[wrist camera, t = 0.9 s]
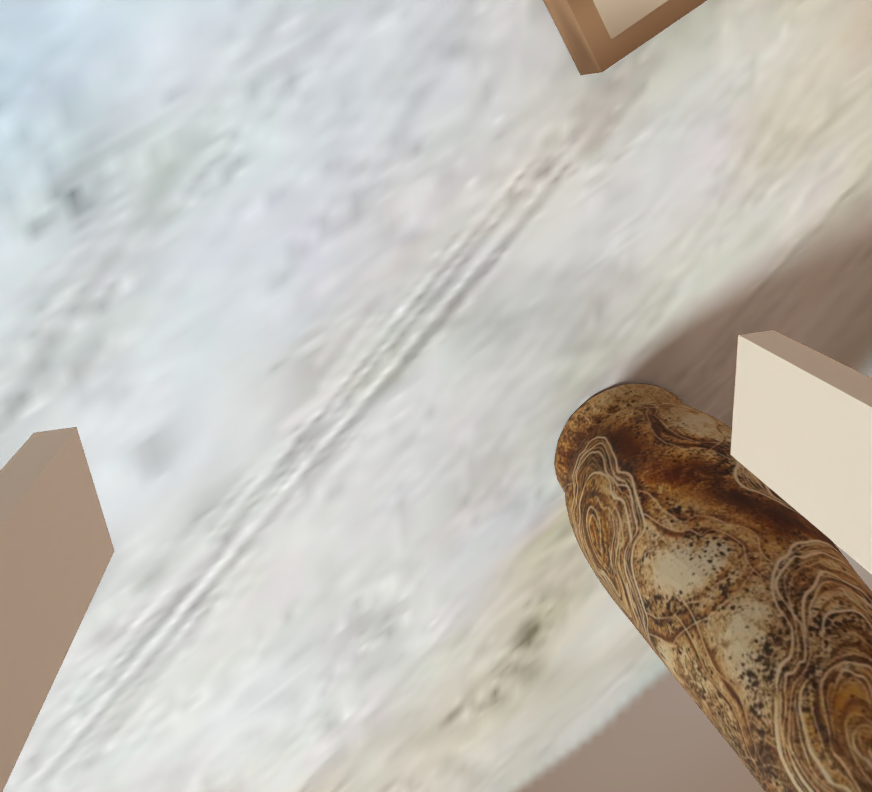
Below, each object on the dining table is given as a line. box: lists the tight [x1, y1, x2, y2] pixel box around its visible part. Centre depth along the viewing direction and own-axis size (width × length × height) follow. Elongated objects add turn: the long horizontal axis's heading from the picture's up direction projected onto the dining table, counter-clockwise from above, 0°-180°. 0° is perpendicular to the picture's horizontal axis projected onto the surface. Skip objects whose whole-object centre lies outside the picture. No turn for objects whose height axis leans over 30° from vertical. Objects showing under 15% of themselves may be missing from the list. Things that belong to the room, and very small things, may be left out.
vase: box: [554, 384, 872, 792], centre depth 31 cm, size 10×11×30 cm
